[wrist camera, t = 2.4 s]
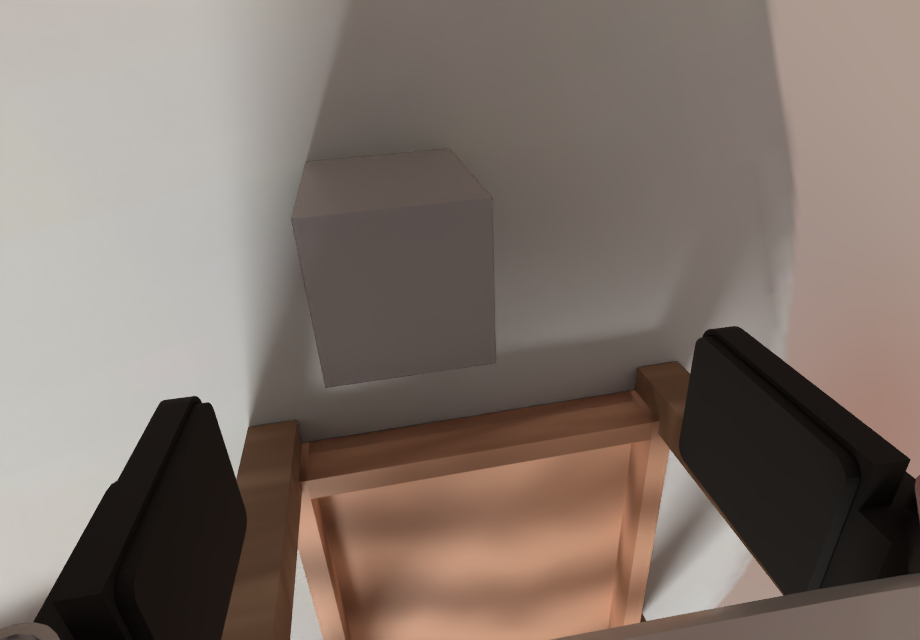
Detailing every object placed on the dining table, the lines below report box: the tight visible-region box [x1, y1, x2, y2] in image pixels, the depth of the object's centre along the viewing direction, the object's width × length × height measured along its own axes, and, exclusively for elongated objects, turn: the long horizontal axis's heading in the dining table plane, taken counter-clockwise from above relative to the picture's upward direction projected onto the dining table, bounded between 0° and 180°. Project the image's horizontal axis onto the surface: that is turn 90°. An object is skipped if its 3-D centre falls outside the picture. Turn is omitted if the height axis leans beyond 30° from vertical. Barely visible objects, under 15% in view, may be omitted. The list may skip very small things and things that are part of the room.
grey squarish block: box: [291, 149, 496, 388], centre depth 18 cm, size 5×5×6 cm
